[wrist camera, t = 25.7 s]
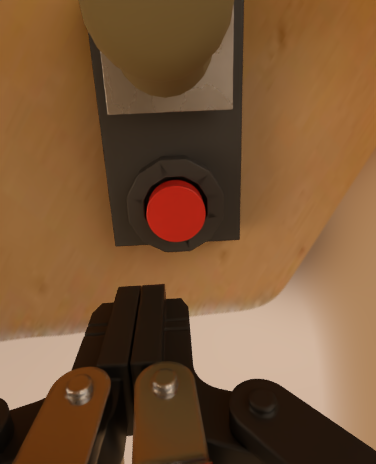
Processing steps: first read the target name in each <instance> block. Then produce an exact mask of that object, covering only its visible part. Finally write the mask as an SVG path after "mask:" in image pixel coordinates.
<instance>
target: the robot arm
mask: <svg viewBox="0 0 376 464" xmlns="http://www.w3.org/2000/svg"><path fill="white" fill-rule="evenodd" d="M131 435H133V452H132V464H376V451H375V450H374V449H372V448H371V447H369V446H368V445H366V444H365V443H364V442H362V441H361V440H359V439H358V438H356V437H355V436H353V435H352V434H350V433H349V432H347V431H346V430H344V429H343V428H342V427H340V426H339V425H337V424H336V423H334V422H333V421H331V420H330V419H329V418H327V417H325V416H324V415H323V414H321V413H320V412H318V411H317V410H315V409H314V408H312V407H311V406H310V405H308V404H306V403H305V402H303V401H302V400H301V399H299V398H298V397H296V396H295V395H293V394H292V393H291V392H289V391H288V390H286V389H285V388H283V387H282V386H280V385H278V384H277V383H274V382H272V381H269V380H264V379H250V380H247V381H244V382H242V383H240V384H239V385H237V386H236V387H235V388H234V390H233V391H227V390H222V389H218V388H215V387H212V386H210V385H208V384H206V383H205V382H203V381H202V380H201V379H200V378H199V377H198V376H197V374H196V373H195V370H194V368H193V360H192V347H191V335H190V324H189V311H188V306H187V305H186V304H185V303H184V301H183V300H182V299H181V298H177V299H166V292H165V284H158V285H143V286H142V287H141V286H127V287H119V288H118V290H117V294H116V297H115V301H114V303H102V304H101V305H100V306H99V307H98V308H97V309H96V310H95V311H94V312H93V313H92V316H91V319H90V321H89V324H88V327H87V330H86V332H85V337H84V338H83V341H82V343H81V346H80V349H79V352H78V354H77V357H76V360H75V362H74V365H73V368H72V371H70V372H68V373H66V374H64V375H63V376H62V377H60V378H59V379H58V380H57V381H56V382H55V383H54V384H53V386H52V387H51V389H50V391H49V393H48V395H47V397H46V398H44V399H42V400H40V401H37V402H34V403H31V404H28V405H25V406H22V407H19V408H16V409H13V410H10V411H9V408H8V405H7V403H6V402H5V401H4V400H3V399H1V398H0V464H124V457H123V456H124V450H125V443H126V436H131Z"/></svg>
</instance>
